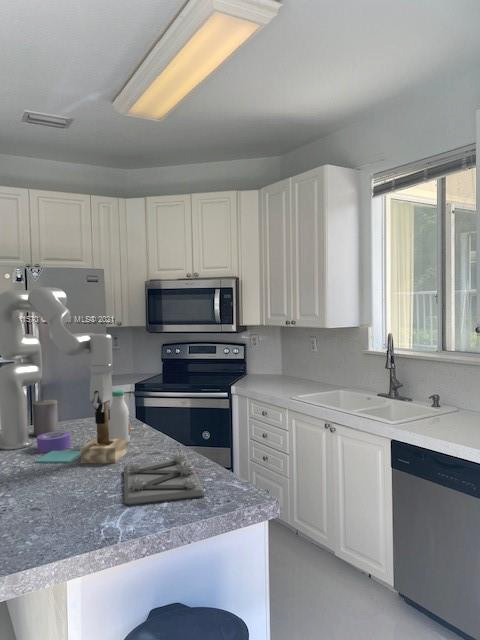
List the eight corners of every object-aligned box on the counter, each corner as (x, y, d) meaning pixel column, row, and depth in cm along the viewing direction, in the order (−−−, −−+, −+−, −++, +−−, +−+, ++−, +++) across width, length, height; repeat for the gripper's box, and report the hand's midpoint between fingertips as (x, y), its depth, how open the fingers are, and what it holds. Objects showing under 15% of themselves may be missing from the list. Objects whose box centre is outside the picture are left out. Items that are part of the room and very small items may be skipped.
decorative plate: (123, 472, 160) (123, 449, 160) (190, 465, 165) (190, 444, 165) (124, 508, 131) (123, 481, 130) (205, 499, 136) (205, 473, 135)
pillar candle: (35, 432, 212) (33, 397, 212) (59, 430, 215) (57, 395, 215) (32, 438, 203) (31, 401, 203) (58, 435, 206) (56, 399, 205)
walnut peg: (95, 443, 172) (94, 403, 172) (99, 440, 176) (98, 401, 176) (106, 443, 172) (105, 403, 171) (110, 440, 176) (109, 401, 175)
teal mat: (35, 462, 170) (35, 461, 170) (51, 452, 182) (51, 450, 182) (69, 462, 169) (69, 461, 169) (83, 452, 181) (83, 450, 181)
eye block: (81, 462, 169) (80, 448, 168) (94, 452, 180) (94, 438, 180) (115, 463, 167) (115, 448, 167) (126, 452, 179) (126, 438, 179)
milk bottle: (127, 445, 189) (125, 392, 188) (106, 445, 189) (105, 393, 189) (132, 439, 197) (130, 389, 196) (112, 440, 197) (110, 389, 196)
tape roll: (30, 452, 183) (30, 438, 183) (48, 443, 195) (48, 430, 195) (60, 453, 181) (59, 439, 181) (76, 444, 193) (76, 431, 193)
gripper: (99, 366, 182) (101, 416, 182) (81, 372, 165) (82, 427, 166) (119, 366, 181) (121, 416, 182) (103, 372, 164) (104, 427, 165)
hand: (102, 421), depth 174 cm, fingers closed on walnut peg, 4 cm apart
